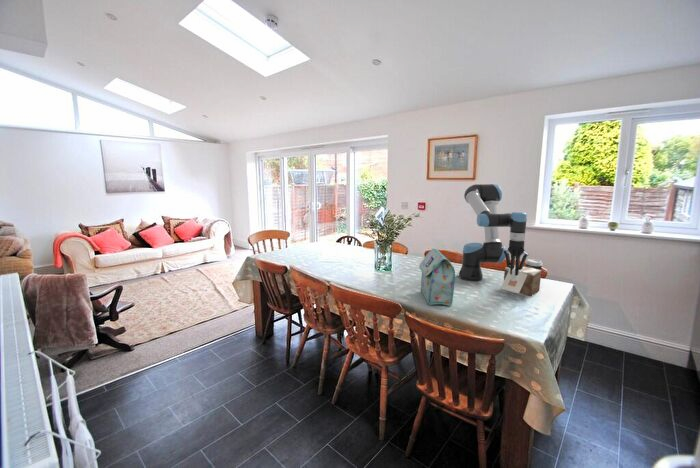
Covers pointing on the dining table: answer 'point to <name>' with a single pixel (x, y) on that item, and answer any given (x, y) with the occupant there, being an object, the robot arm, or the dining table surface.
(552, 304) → the dining table surface
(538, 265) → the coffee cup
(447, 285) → the lunch bag
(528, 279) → the cardboard box
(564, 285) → the dining table surface
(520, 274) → the white flat panel
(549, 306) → the dining table surface
